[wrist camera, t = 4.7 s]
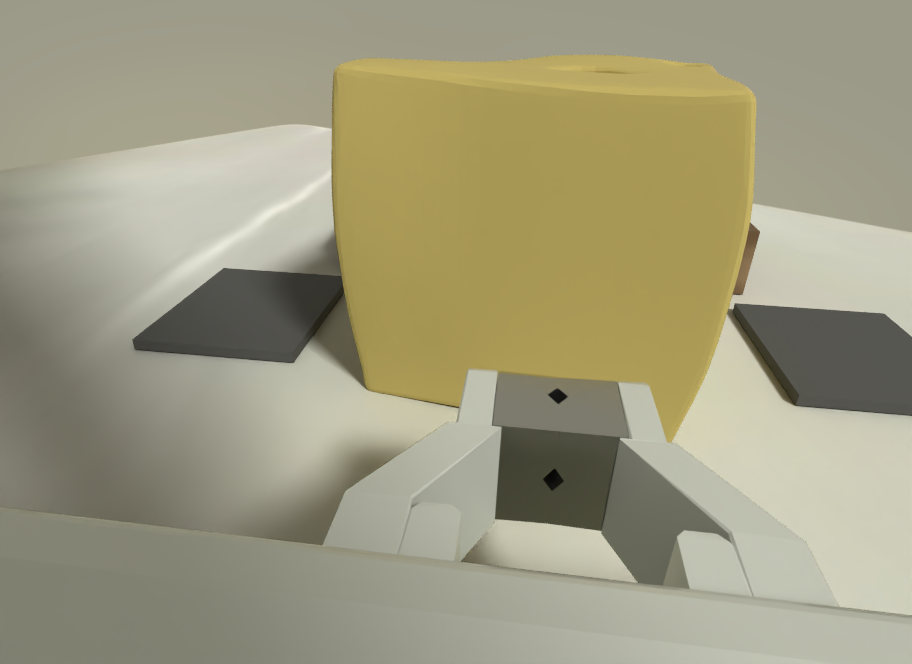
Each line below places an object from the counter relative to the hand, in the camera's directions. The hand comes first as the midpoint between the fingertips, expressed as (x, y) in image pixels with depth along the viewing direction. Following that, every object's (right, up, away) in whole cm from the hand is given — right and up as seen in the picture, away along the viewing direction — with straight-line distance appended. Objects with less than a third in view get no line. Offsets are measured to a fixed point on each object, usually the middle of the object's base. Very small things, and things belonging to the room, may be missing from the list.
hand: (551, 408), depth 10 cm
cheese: (+1, 0, +12) cm, 12 cm away
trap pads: (+1, +1, +13) cm, 13 cm away
